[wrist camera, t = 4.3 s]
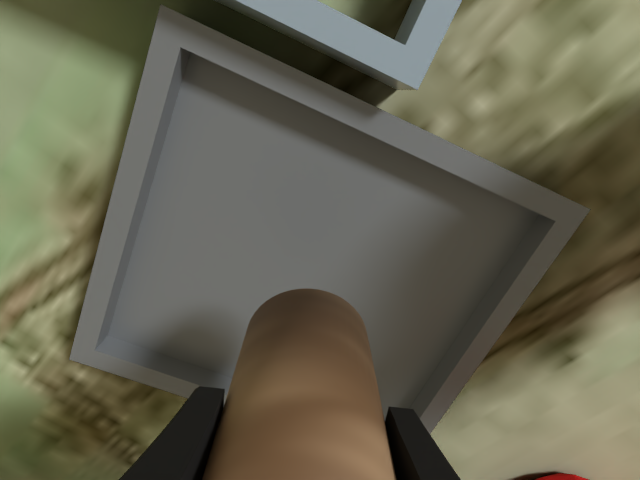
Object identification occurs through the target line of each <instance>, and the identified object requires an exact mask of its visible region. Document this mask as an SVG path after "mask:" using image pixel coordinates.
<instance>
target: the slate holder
mask: <svg viewBox="0 0 640 480" xmlns="http://www.w3.org/2000/svg"><path fill="white" fill-rule="evenodd" d="M214 1H216V2H218V3H221V4H223V5H225V6H227V7H229V8H231V9H233V10H235V11H237V12H239V13H241V14H243V15H245V16H247V17H249V18H251V19H253V20H255V21H257V22H259V23H261V24H263V25H266V26H268V27H270V28H272V29H274V30H276V31H278V32H280V33H282V34H284V35H286V36H288V37H290V38H292V39H294V40H296V41H298V42H300V43H302V44H304V45H306V46H308V47H311V48H313V49H315V50H317V51H319V52H321V53H323V54H325V55H327V56H329V57H331V58H333V59H335V60H337V61H339V62H341V63H343V64H345V65H347V66H349V67H351V68H354V69H356V70H358V71H360V72H362V73H364V74H366V75H368V76H370V77H372V78H374V79H376V80H378V81H380V82H382V83H384V84H386V85H388V86H390V87H392V88H394V89H396V90H418V88H419V86H420V84H421V82H422V80H423V78H424V76H425V74H426V72H427V70H428V68H429V66H430V64H431V62H432V60H433V58H434V56H435V54H436V52H437V50H438V48H439V46H440V44H441V42H442V40H443V38H444V36H445V34H446V32H447V29H448V27H449V25H450V23H451V21H452V19H453V17H454V15H455V13H456V11H457V9H458V7H459V5H460V3H461V1H462V0H412V1H411V4H410V6H409V8H408V10H407V12H406V15H405V17H404V19H403V21H402V23H401V26H400V28H399V30H398V32H397V34H396V37H395V39H392V38H390V37H388V36H386V35H384V34H382V33H380V32H378V31H376V30H374V29H372V28H370V27H368V26H366V25H364V24H362V23H360V22H358V21H356V20H354V19H352V18H351V17H349V16H347V15H345V14H343V13H341V12H339V11H337V10H335V9H333V8H331V7H329V6H327V5H325V4H323V3H321V2H319V1H317V0H214Z"/></svg>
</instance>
